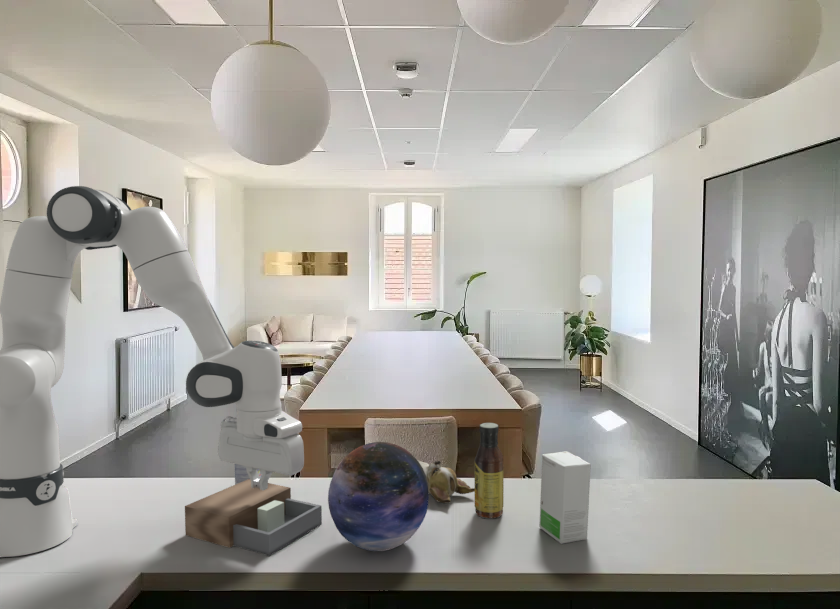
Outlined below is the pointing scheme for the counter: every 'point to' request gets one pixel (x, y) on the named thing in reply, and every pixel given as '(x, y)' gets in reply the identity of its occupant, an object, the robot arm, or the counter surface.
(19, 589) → the counter surface
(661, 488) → the counter surface
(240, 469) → the medicine box
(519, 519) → the counter surface
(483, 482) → the sauce bottle
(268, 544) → the bin
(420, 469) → the decorative sphere
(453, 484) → the ceramic sculpture
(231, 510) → the wooden drawer casing
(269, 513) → the tile
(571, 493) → the skincare box
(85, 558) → the counter surface
